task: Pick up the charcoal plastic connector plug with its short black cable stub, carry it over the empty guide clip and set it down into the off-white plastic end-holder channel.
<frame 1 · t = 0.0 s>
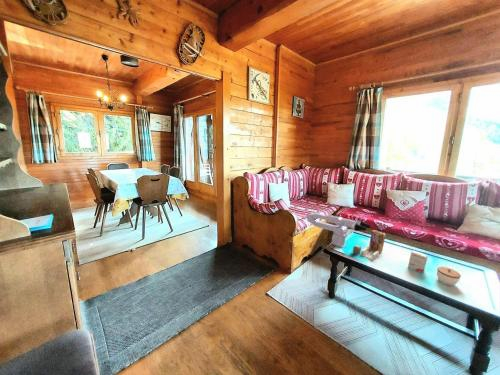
hand: (368, 227, 161), 22 cm above the table, tool horizontal, fingers open, 7 cm apart
lidded jar: (445, 282, 137), on the table
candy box: (375, 250, 174), on the table
end holder: (369, 255, 164), on the table
connector plug: (356, 253, 167), on the table
guide clip: (363, 254, 165), resting in end holder
ink box: (415, 269, 150), on the table
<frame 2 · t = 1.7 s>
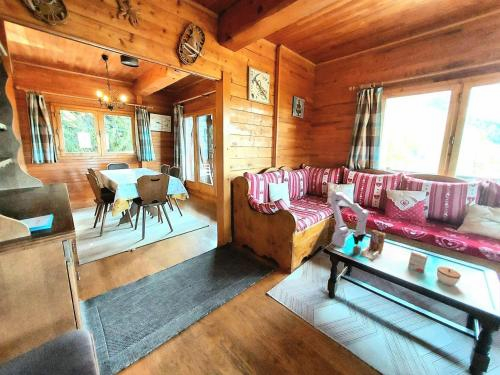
hand: (358, 242, 165), 9 cm above the table, tool pointing down, fingers open, 7 cm apart
nothing on the table moved.
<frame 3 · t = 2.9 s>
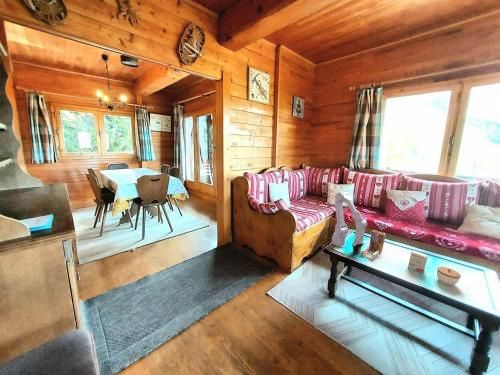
hand: (356, 251, 166), 1 cm above the table, tool pointing down, fingers closed on connector plug, 4 cm apart
connector plug: (356, 253, 167), on the table, touching gripper
everything else where it was.
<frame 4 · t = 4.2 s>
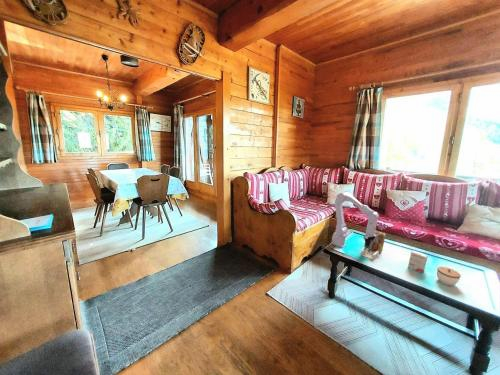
hand: (368, 244, 163), 9 cm above the table, tool pointing down, fingers closed on connector plug, 4 cm apart
connector plug: (367, 247, 163), point 7 cm above the table, touching gripper
everything else where it was.
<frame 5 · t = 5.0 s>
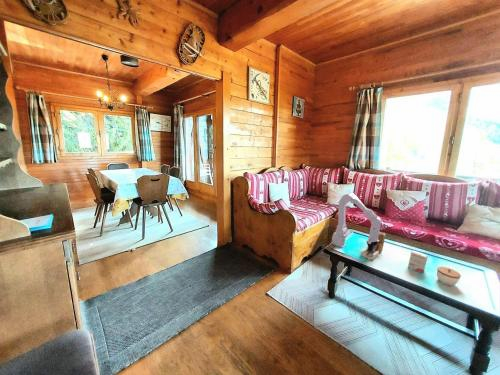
hand: (371, 249, 163), 5 cm above the table, tool pointing down, fingers closed on connector plug, 4 cm apart
connector plug: (370, 252, 163), point 3 cm above the table, touching gripper
everything else where it was.
when the fingers open (4 cm above the table, at t = 5.7 s): connector plug stays where it is, resting on end holder.
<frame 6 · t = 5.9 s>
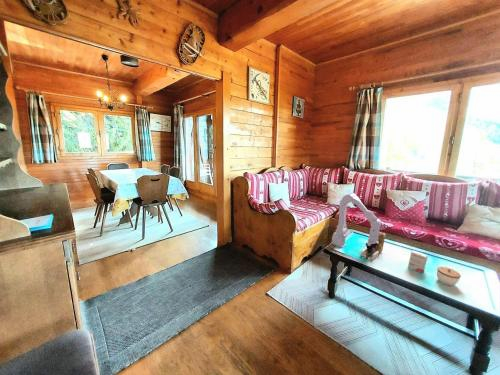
hand: (370, 251, 163), 4 cm above the table, tool pointing down, fingers open, 6 cm apart
connector plug: (370, 255, 164), point 1 cm above the table, touching end holder
everything else where it was.
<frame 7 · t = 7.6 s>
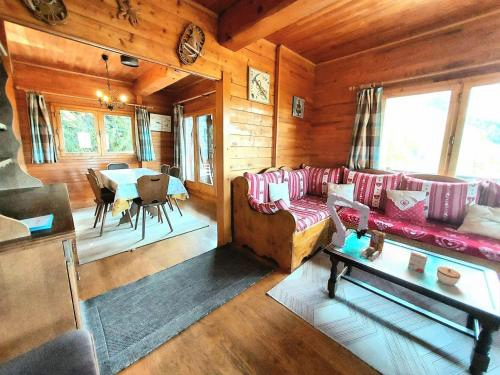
hand: (360, 237, 172), 10 cm above the table, tool pointing down, fingers open, 7 cm apart
nothing on the table moved.
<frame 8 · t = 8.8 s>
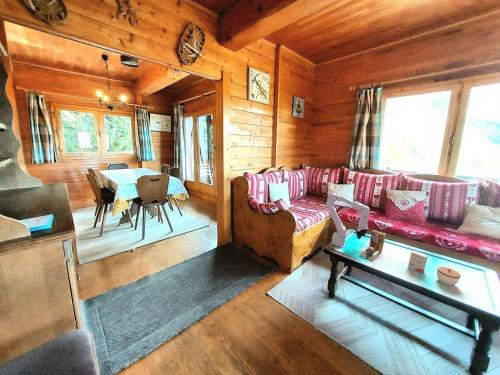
hand: (360, 237, 172), 10 cm above the table, tool pointing down, fingers open, 7 cm apart
nothing on the table moved.
at the end: connector plug 0.1 cm off-centre on the end holder, point 0.6 cm above the end holder's base; connector plug tilted 0°; the gripper is holding nothing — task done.
